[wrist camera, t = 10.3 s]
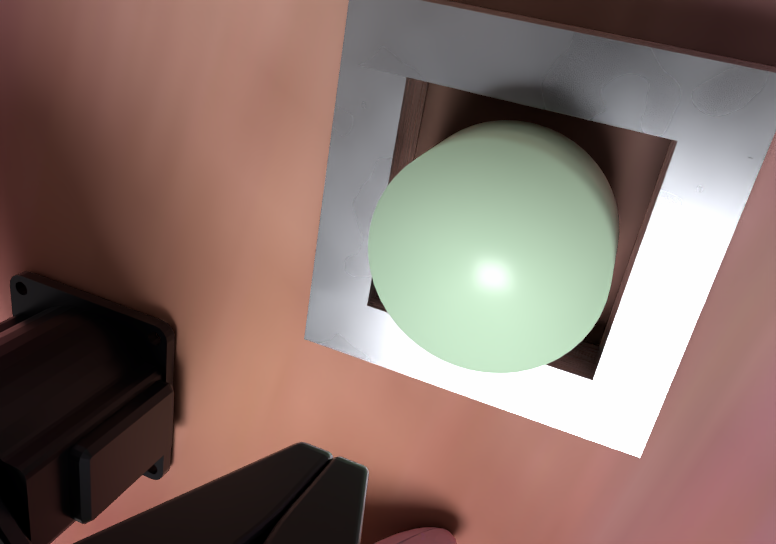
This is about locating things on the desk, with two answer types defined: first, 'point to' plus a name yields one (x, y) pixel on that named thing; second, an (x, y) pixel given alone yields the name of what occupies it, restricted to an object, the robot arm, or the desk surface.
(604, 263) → the button
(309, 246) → the desk surface
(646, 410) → the button housing
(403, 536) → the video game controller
